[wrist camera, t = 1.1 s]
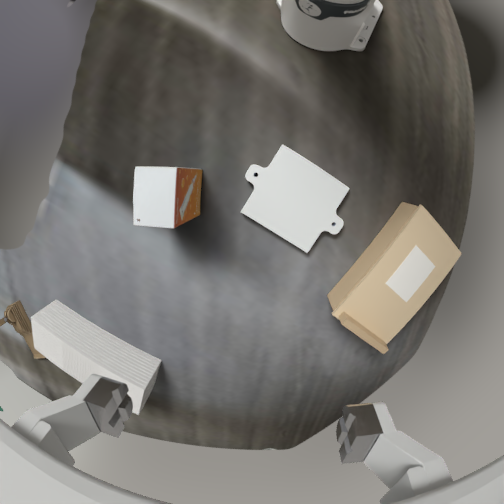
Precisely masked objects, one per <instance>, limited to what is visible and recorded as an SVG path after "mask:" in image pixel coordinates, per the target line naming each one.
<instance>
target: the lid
mask: <svg viewBox="0 0 504 504" xmlns="http://www.w3.org/2000/svg"><path fill="white" fill-rule="evenodd" d="M460 256H461V252H460V251H459V249H458V248H457V247H456V245H455V244H454V243H453V242H452V240H451V239H450V238H449V236H448V235H447V234H446V233H445V231H444V230H443V229H442V228H441V227H440V225H439V224H438V223H437V222H436V221H435V219H434V218H433V217H432V216H431V215H430V214H429V212H428V211H427V210H426V209H425V208H424V207H423V206H422V205H419V206H418V208H417V209H416V211H415V212H414V213H413V215H412V216H411V218H410V219H409V220H408V222H407V223H406V224H405V226H404V227H403V228H402V230H401V231H400V232H399V234H398V235H397V236H396V238H395V239H394V240H393V242H392V243H391V244H390V246H389V247H388V248H387V249H386V251H385V252H384V253H383V254H382V256H381V257H380V258H379V259H378V261H377V262H376V263H375V264H374V265H373V267H372V268H371V269H370V270H369V271H368V273H367V274H366V275H365V276H364V277H363V279H362V280H361V281H360V282H359V283H358V284H357V286H356V287H355V288H354V289H353V290H352V291H351V292H350V294H349V295H348V296H347V297H346V298H345V299H344V300H343V301H342V302H341V304H340V305H339V306H338V307H337V308H336V309H335V310H334V311H333V312H332V315H333V316H335V317H336V318H337V319H339V320H340V322H341V324H342V325H343V326H345V327H346V328H347V329H349V330H350V331H352V332H353V333H354V334H356V335H357V336H359V337H360V338H361V339H363V340H364V341H366V342H367V343H369V344H370V345H371V346H373V347H374V348H376V349H377V350H378V351H380V352H381V353H383V354H385V353H386V352H387V351H388V350H389V349H388V347H387V346H386V345H387V344H388V343H389V341H390V340H391V339H392V338H393V337H394V336H395V335H396V334H397V333H398V332H399V331H400V330H401V329H402V328H403V327H404V326H405V325H406V324H407V322H408V321H409V320H410V319H411V318H412V317H413V316H414V315H415V314H416V312H417V311H418V310H419V309H420V308H421V307H422V305H423V304H424V303H425V302H426V301H427V299H428V298H429V297H430V296H431V295H432V293H433V292H434V291H435V290H436V288H437V287H438V286H439V284H440V283H441V282H442V281H443V279H444V278H445V277H446V275H447V274H448V273H449V271H450V270H451V268H452V267H453V266H454V264H455V263H456V261H457V260H458V259H459V257H460Z"/></svg>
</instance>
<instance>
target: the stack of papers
mask: <svg viewBox="0 0 504 504" xmlns="http://www.w3.org/2000/svg"><path fill="white" fill-rule="evenodd" d="M31 324H32V334H33V342H34V348H35V349H36V350H37V351H38V352H40V353H41V354H42V355H43V356H45V357H46V358H47V359H49V360H50V361H51V362H53V363H54V364H55V365H57V366H58V367H59V368H61V369H62V370H63V371H65V372H66V373H68V374H69V375H71V376H72V377H74V378H75V379H77V380H78V381H80V382H81V383H84V382H85V381H86V380H87V379H88V377H89V376H90V375H91V374H97V375H100V376H103V377H107V378H110V379H113V380H116V381H119V382H122V383H125V384H127V387H128V389H129V391H128V392H127V394H128V395H129V396H130V397H131V399H132V402H133V410H132V412H133V413H135V414H137V415H139V414H140V412H141V410H142V408H143V406H144V404H145V403H146V401H147V399H148V397H149V395H150V393H151V391H152V390H153V388H154V385H155V381H156V378H157V374H158V371H159V367H160V364H161V360H160V359H158V358H156V357H153V356H151V355H149V354H147V353H145V352H143V351H141V350H140V349H138V348H136V347H134V346H132V345H130V344H128V343H126V342H124V341H123V340H121V339H119V338H117V337H115V336H114V335H112V334H110V333H108V332H107V331H105V330H103V329H101V328H100V327H98V326H96V325H95V324H93V323H92V322H90V321H88V320H87V319H85V318H84V317H82V316H80V315H79V314H77V313H76V312H74V311H73V310H71V309H70V308H68V307H67V306H65V305H64V304H62V303H61V302H59V301H58V300H55V301H53V303H50V304H49V305H48V306H46V307H44V308H43V309H42V310H41V311H39V313H38V312H37V313H36V314H34V316H32V317H31Z"/></svg>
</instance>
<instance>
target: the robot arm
mask: <svg viewBox="0 0 504 504" xmlns="http://www.w3.org/2000/svg"><path fill="white" fill-rule="evenodd" d="M276 3H277V5H278V7H279V8H280V10H281V21H282V25H283V27H284V29H285V30H286V32H287V33H288V34H289V35H290V36H291V37H292V38H293V39H294V40H296V41H297V42H299V43H300V44H302V45H304V46H307V47H309V48H312V49H316V50H321V51H337V50H343V49H348V50H353V51H363V50H364V49H365V47H366V44H367V42H368V40H369V38H370V36H371V34H372V31H373V29H374V27H375V25H376V23H377V20H378V18H379V16H380V14H381V11H382V9H383V6H382V5H381V3H380V2H379V1H378V0H277V1H276ZM359 40H361V41H362V42H360V41H359ZM128 391H129V389H128V387H127V384H125V383H122V382H119V381H116V380H113V379H110V378H107V377H103V376H100V375H97V374H91V375H90V376H89V377H88V379H87V380H86V381H85V382H84V383H83V384H82V386H81V387H80V388H79V389H78V390H77V391H76V393H75V394H74V395H73V396H71V395H69V396H66V397H63V398H61V399H58V400H55V401H52V402H49V403H46V404H43V405H41V406H37V407H34V408H31V409H28V410H26V411H25V413H24V414H23V415H22V416H21V417H20V418H19V419H18V420H17V422H16V423H15V424H14V425H13V426H12V427H10V426H9V425H8V424H6V423H5V422H4V421H2V420H1V419H0V504H171V503H167V502H163V501H159V500H156V499H152V498H149V497H146V496H142V495H139V494H136V493H133V492H130V491H128V490H125V489H122V488H120V487H117V486H114V485H112V484H110V483H107V482H105V481H102V480H100V479H98V478H95V477H93V476H91V475H89V474H87V473H85V472H83V471H81V470H79V469H76V468H75V467H73V465H74V463H75V461H74V459H73V457H72V456H71V455H70V454H69V452H68V451H70V450H72V449H73V448H75V447H77V446H79V445H80V444H82V443H84V442H85V441H87V440H89V439H91V438H92V437H94V436H96V435H97V434H99V433H100V432H103V433H106V434H109V435H111V436H114V437H119V436H120V434H121V432H122V430H123V429H124V427H125V426H124V421H126V420H128V419H129V418H130V416H131V414H132V410H133V402H132V399H131V397H130V396H129V395H128V394H127V392H128ZM342 414H343V417H342V418H340V419H339V421H338V425H337V431H336V432H337V441H338V442H339V443H340V444H341V445H342V446H341V448H340V450H339V452H340V457H341V462H342V463H352V462H353V463H354V462H363V461H364V462H363V463H364V464H365V465H366V466H367V467H368V468H369V469H370V470H371V471H372V472H373V473H374V474H375V475H376V476H377V477H378V478H379V479H380V480H381V481H382V482H383V483H384V484H385V485H386V486H388V488H390V490H389V491H388V492H387V493H386V494H385V495H384V496H383V498H381V500H380V503H381V504H504V455H503V456H501V457H500V458H498V459H496V460H495V461H493V462H491V463H489V464H488V465H486V466H484V467H482V468H480V469H478V470H476V471H474V472H472V473H470V474H468V475H467V476H464V477H462V478H460V479H458V480H456V481H453V480H452V478H451V475H450V473H449V471H448V468H447V466H446V464H445V462H444V460H443V458H442V457H441V456H439V455H438V454H436V453H434V452H432V451H431V450H429V449H428V448H426V447H425V446H423V445H422V444H420V443H419V442H417V441H415V440H414V439H412V438H411V437H409V436H408V435H406V434H405V433H403V432H401V431H397V430H396V427H395V425H394V423H393V420H392V418H391V415H390V413H389V411H388V409H387V406H386V404H385V403H384V402H383V401H382V402H374V403H364V404H353V405H345V407H344V408H343V411H342Z"/></svg>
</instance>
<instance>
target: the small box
mask: <svg viewBox="0 0 504 504" xmlns="http://www.w3.org/2000/svg"><path fill="white" fill-rule="evenodd" d="M201 182H202V169H194V168H181V167H135V176H134V192H133V212H134V213H133V215H134V226H150V227H164V228H176V227H178V226H179V225H181V224H183V223H185V222H187V221H189V220H191V219H193V218H195V217H197V216H199V215H200V198H201Z"/></svg>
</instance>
